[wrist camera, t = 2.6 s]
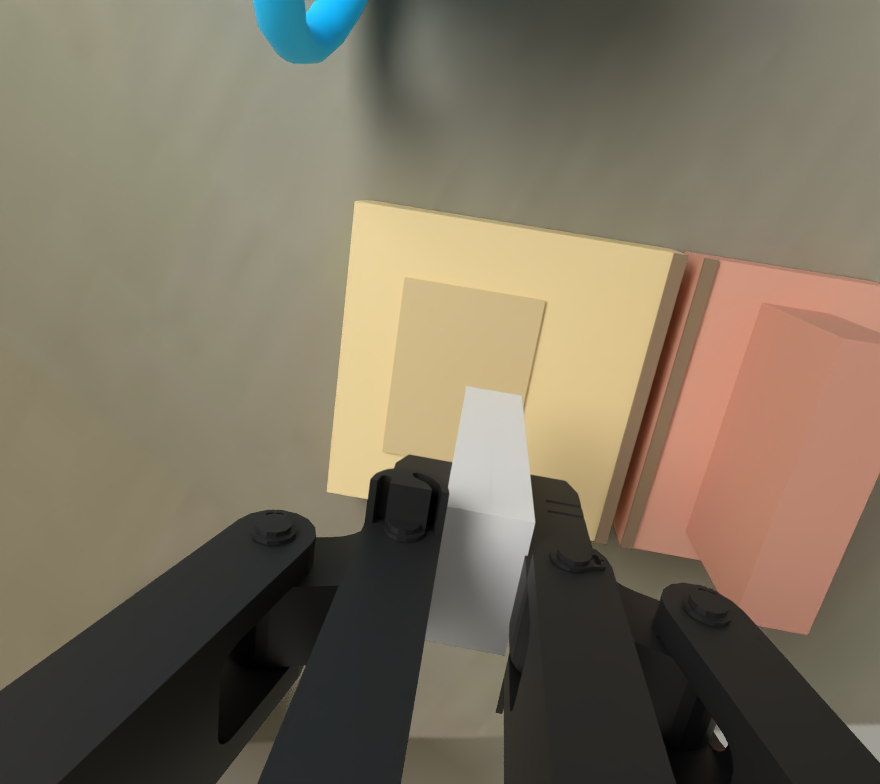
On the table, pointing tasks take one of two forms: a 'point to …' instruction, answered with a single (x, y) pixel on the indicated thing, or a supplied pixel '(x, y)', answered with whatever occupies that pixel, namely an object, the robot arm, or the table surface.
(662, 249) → the tan flat square block
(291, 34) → the mug
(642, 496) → the pink stepped block
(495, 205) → the table surface
